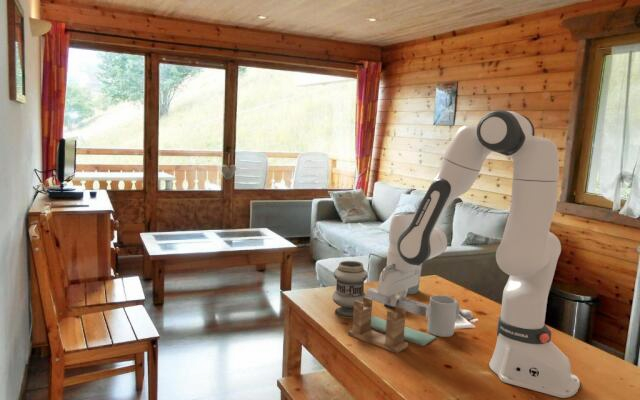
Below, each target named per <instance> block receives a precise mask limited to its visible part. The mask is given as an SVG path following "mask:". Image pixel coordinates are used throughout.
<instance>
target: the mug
mask: <svg viewBox="0 0 640 400" xmlns="http://www.w3.org/2000/svg"><path fill="white" fill-rule="evenodd" d="M428 305H431V311H430V315H429V316H427V317H428V318H427V327H426V328H427V329H426V330H427V332H428V334H429V333H430V335H432V336H435V337H436V336H437V337H442V338H449V337H452V336H453V335H454V334H455V329H454V327H455V321H456V320H457V318H458V316H459V310H460V309H461V307H460V303H459V302H458V301H457V300H456V299H455V298H454V297H451V296H448V295H442V294H438V295H437V294H435V295H431V296H430V298H429V304H428Z"/></svg>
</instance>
